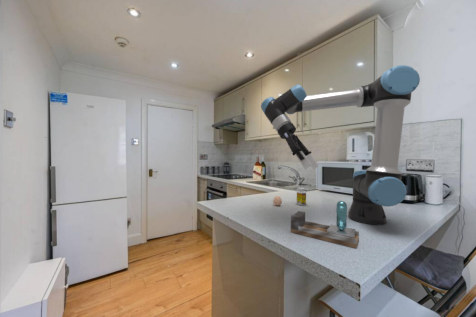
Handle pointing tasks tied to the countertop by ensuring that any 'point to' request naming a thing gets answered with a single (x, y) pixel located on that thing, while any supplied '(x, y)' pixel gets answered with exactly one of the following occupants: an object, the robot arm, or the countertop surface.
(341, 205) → the sliding jaw
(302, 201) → the supplement bottle
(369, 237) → the countertop surface
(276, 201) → the egg
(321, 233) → the press base
